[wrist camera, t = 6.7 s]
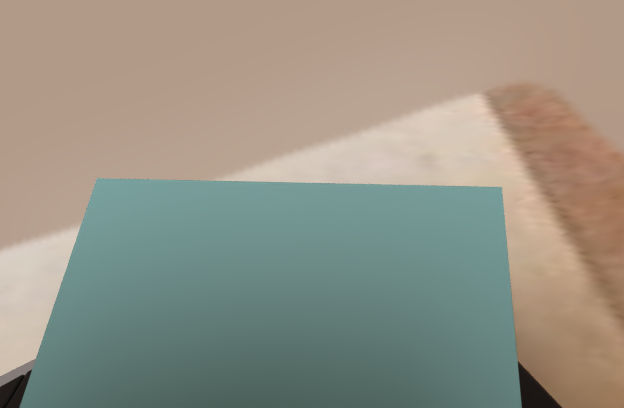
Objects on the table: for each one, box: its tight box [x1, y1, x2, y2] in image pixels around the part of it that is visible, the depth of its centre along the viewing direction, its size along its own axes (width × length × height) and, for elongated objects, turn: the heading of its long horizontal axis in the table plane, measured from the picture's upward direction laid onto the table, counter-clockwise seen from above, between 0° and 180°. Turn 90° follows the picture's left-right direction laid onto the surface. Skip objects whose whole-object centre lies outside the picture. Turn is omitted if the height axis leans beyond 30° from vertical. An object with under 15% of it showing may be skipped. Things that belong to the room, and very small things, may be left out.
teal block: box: [20, 178, 522, 408], centre depth 6 cm, size 5×5×7 cm
